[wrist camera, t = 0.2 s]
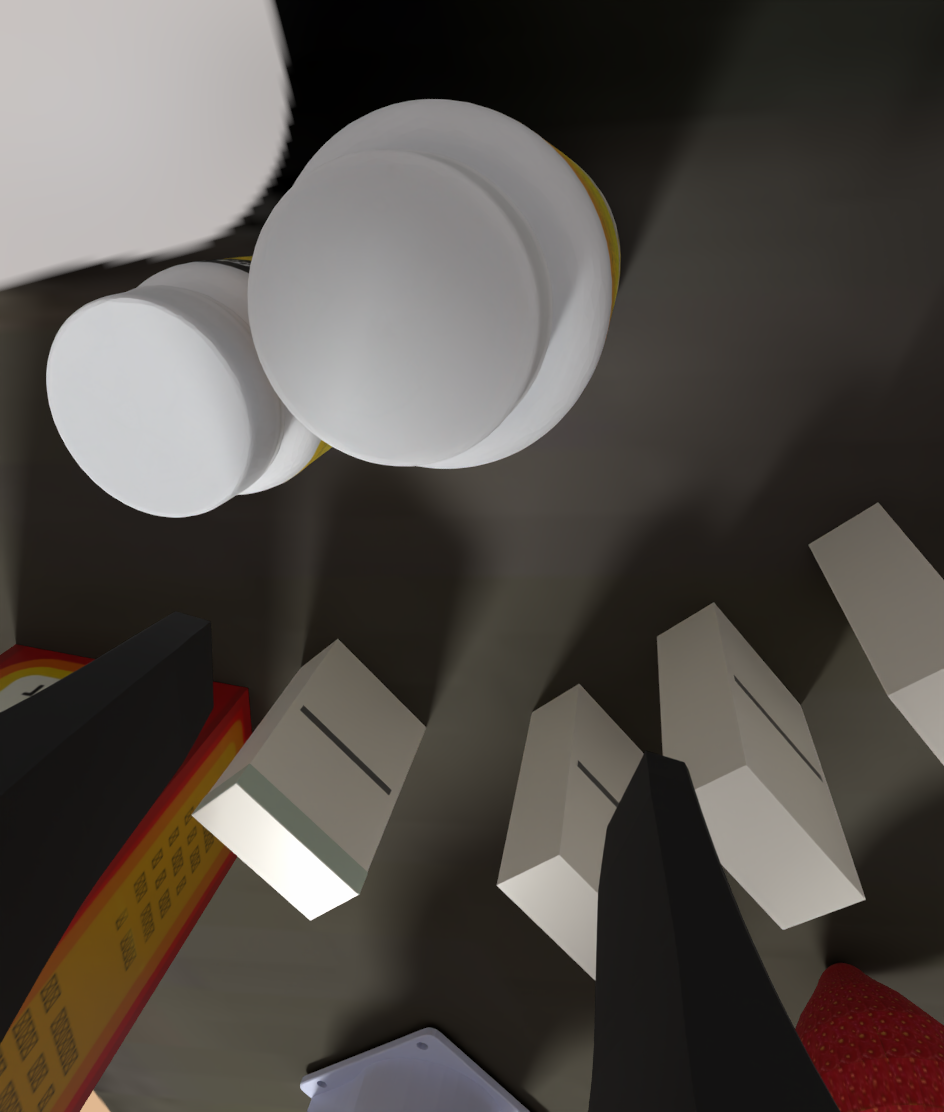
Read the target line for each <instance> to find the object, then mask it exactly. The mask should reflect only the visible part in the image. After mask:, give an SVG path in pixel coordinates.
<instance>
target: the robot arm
mask: <svg viewBox="0 0 944 1112" xmlns="http://www.w3.org/2000/svg"><path fill="white" fill-rule="evenodd" d="M213 708H214V700H213V670H212V640H211V622H210V621H207V620H204V619H200V618H197V617H194V616H190V615H187V614H183V613H180V612H177V611H176V612H174V613H172V614H170V615H168V616H167V617H165V618H163V619H162V620H160V621H158V622H156V623H155V624H153V625H151V626H150V627H148V628H146V629H145V630H143V631H141V632H140V633H138V634H137V635H135V636H133V637H132V638H130V639H128V640H127V641H125V642H123V643H122V644H120V645H118V646H117V647H115V648H113V649H112V650H110V651H108V652H107V653H105V654H103V655H102V656H100V657H98V658H97V659H95V660H93V661H92V662H90V663H88V664H87V665H85V666H83V667H81V668H80V669H78V670H76V671H74V672H73V673H71V674H69V675H68V676H66V677H64V678H62V679H61V680H59V681H57V682H55V683H54V684H52V685H50V686H49V687H47V688H45V689H43V690H41V691H40V692H38V693H36V694H34V695H32V696H30V697H29V698H27V699H25V700H23V701H21V702H19V703H17V704H15V705H13V706H12V707H10V708H8V709H6V710H4V711H2V712H0V1044H1V1042H2V1041H3V1039H4V1037H5V1035H6V1033H7V1031H8V1030H9V1028H10V1026H11V1024H12V1023H13V1021H14V1019H15V1017H16V1016H17V1014H18V1012H19V1010H20V1009H21V1007H22V1005H23V1003H24V1002H25V1000H26V998H27V996H28V995H29V993H30V991H31V989H32V987H33V986H34V984H35V982H36V980H37V979H38V977H39V975H40V973H41V972H42V970H43V968H44V967H45V965H46V963H47V962H48V960H49V958H50V956H51V955H52V953H53V951H54V950H55V948H56V946H57V945H58V943H59V941H60V940H61V938H62V936H63V935H64V933H65V931H66V930H67V928H68V926H69V925H70V923H71V921H72V920H73V918H74V916H75V915H76V913H77V911H78V910H79V908H80V906H81V905H82V904H83V902H84V901H85V899H86V898H87V896H88V895H89V893H90V892H91V890H92V889H93V887H94V886H95V884H96V883H97V881H98V880H99V878H100V877H101V876H102V874H103V873H104V872H105V870H106V869H107V867H108V866H109V865H110V863H111V862H112V861H113V859H114V858H115V856H116V855H117V854H118V852H119V851H120V850H121V848H122V847H123V845H124V844H125V843H126V841H127V840H128V839H129V837H130V836H131V834H132V833H133V832H134V830H135V829H136V828H137V826H138V825H139V823H140V822H141V821H142V819H143V818H144V817H145V815H146V814H147V812H148V811H149V810H150V808H151V807H152V806H153V804H154V803H155V801H156V800H157V799H158V797H159V796H160V794H161V793H162V792H163V790H164V789H165V787H166V786H167V785H168V783H169V782H170V780H171V779H172V778H173V776H174V775H175V773H176V772H177V771H178V769H179V768H180V766H181V765H182V764H183V762H184V760H185V759H186V757H187V755H188V753H189V752H190V750H191V748H192V746H193V745H194V743H195V741H196V739H197V738H198V736H199V734H200V732H201V730H202V728H203V726H204V725H205V723H206V721H207V719H208V717H209V715H210V713H211V712H212V710H213ZM300 1087H301V1090H302V1091H303V1092H305V1093H306V1094H307V1095H308V1096H309V1097H311V1098H312V1099H311V1102H310V1104H309V1107H308V1110H307V1112H530V1111H529V1110H528V1109H527V1108H525V1107H524V1106H523V1105H522V1104H521V1103H520V1102H519V1101H518V1100H516V1099H515V1098H514V1097H513V1096H512V1095H511V1094H510V1093H509V1092H507V1091H506V1090H505V1089H504V1088H503V1087H502V1086H501V1085H500V1084H498V1083H497V1082H496V1081H495V1080H494V1079H493V1078H492V1077H490V1076H489V1075H488V1074H487V1073H486V1072H485V1071H484V1070H483V1069H481V1068H480V1067H479V1066H478V1065H477V1064H476V1063H475V1062H474V1061H472V1060H471V1059H470V1058H469V1057H468V1056H467V1055H466V1054H465V1053H463V1052H462V1051H461V1050H460V1049H459V1048H458V1047H457V1046H455V1045H454V1044H453V1043H452V1042H451V1041H450V1040H449V1039H448V1038H446V1037H445V1036H444V1035H443V1034H442V1033H441V1032H440V1031H438V1030H437V1029H434V1028H430V1027H428V1028H424V1029H422V1030H419V1031H417V1032H414V1033H412V1034H409V1035H406V1036H404V1037H401V1038H399V1039H396V1040H394V1041H391V1042H389V1043H386V1044H384V1045H381V1046H379V1047H376V1048H374V1049H371V1050H369V1051H366V1052H364V1053H361V1054H359V1055H356V1056H353V1057H351V1058H348V1059H346V1060H343V1061H341V1062H338V1063H336V1064H333V1065H331V1066H328V1067H326V1068H323V1069H321V1070H318V1071H316V1072H313V1073H311V1074H308V1075H306V1076H304V1077H303V1078H302V1081H301V1083H300ZM588 1112H841V1111H840V1110H839V1108H838V1106H837V1104H836V1103H835V1101H834V1099H833V1097H832V1096H831V1094H830V1092H829V1090H828V1088H827V1087H826V1085H825V1083H824V1081H823V1080H822V1078H821V1076H820V1074H819V1073H818V1071H817V1069H816V1067H815V1065H814V1064H813V1062H812V1060H811V1058H810V1056H809V1054H808V1053H807V1051H806V1049H805V1047H804V1045H803V1043H802V1041H801V1039H800V1037H799V1036H798V1034H797V1032H796V1030H795V1028H794V1026H793V1024H792V1022H791V1020H790V1018H789V1016H788V1015H787V1013H786V1011H785V1009H784V1007H783V1005H782V1003H781V1001H780V999H779V996H778V994H777V992H776V990H775V988H774V986H773V984H772V982H771V980H770V978H769V976H768V974H767V971H766V969H765V967H764V965H763V963H762V960H761V958H760V956H759V954H758V952H757V950H756V947H755V945H754V943H753V941H752V939H751V936H750V934H749V932H748V929H747V927H746V925H745V922H744V920H743V918H742V915H741V913H740V910H739V908H738V905H737V903H736V901H735V898H734V896H733V893H732V891H731V888H730V886H729V883H728V881H727V878H726V876H725V873H724V871H723V868H722V866H721V863H720V860H719V858H718V855H717V852H716V850H715V847H714V844H713V841H712V838H711V836H710V833H709V830H708V827H707V825H706V822H705V819H704V816H703V813H702V810H701V807H700V804H699V801H698V798H697V795H696V792H695V789H694V786H693V782H692V779H691V776H690V773H689V770H688V768H687V766H686V764H685V762H682V761H679V760H676V759H672V758H669V757H666V756H662V755H659V754H655V753H652V752H649V751H645V753H644V755H643V757H642V759H641V761H640V763H639V765H638V767H637V769H636V771H635V773H634V775H633V777H632V779H631V781H630V783H629V784H628V786H627V788H626V790H625V792H624V794H623V796H622V798H621V800H620V802H619V804H618V806H617V808H616V810H615V812H614V814H613V816H612V818H611V820H610V822H609V824H608V826H607V830H606V837H605V844H604V851H603V858H602V865H601V872H600V880H599V888H598V908H597V944H596V986H595V1029H594V1054H593V1071H592V1083H591V1092H590V1101H589V1110H588Z"/></svg>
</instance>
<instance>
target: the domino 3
mask: <svg viewBox="0 0 944 1112" xmlns="http://www.w3.org/2000/svg"><path fill="white" fill-rule="evenodd" d="M809 547H810V549H811V551H812V553H813V555H814V557H815V559H816V561H817V563H818V564H819V566H820V568H821V570H822V572H823V574H824V576H825V578H826V580H827V582H828V583H829V585H830V587H831V589H832V591H833V593H834V595H835V597H836V599H837V601H838V602H839V604H840V606H841V608H842V610H843V612H844V614H845V616H846V618H847V620H848V621H849V623H850V625H851V627H852V629H853V631H854V633H855V635H856V637H857V639H858V640H859V642H860V644H861V646H862V648H863V650H864V652H865V654H866V656H867V658H868V659H869V661H870V663H871V665H872V667H873V669H874V671H875V673H876V675H877V677H878V679H879V680H880V682H881V684H882V686H883V688H884V690H885V692H886V694H887V696H888V697H889V698H890V699H891V701H892V702H893V703H894V704H895V706H896V707H897V708H898V709H899V711H900V712H901V713H902V714H903V715H904V717H905V718H906V719H907V720H908V722H909V723H910V724H911V725H912V727H913V728H914V729H915V730H916V732H917V733H918V734H919V735H920V737H921V738H922V739H923V740H924V742H925V743H926V744H927V745H928V746H929V748H930V749H931V750H932V751H933V753H934V754H935V755H936V756H937V758H938V759H939V760H940V761H941V763H942V764H943V765H944V580H943V578H942V577H941V576H940V575H939V574H938V573H937V571H936V570H935V569H934V568H933V567H932V565H931V564H930V563H929V562H928V561H927V560H926V558H925V557H924V556H923V555H922V554H921V552H920V551H919V550H918V549H917V548H916V547H915V545H914V544H913V543H912V542H911V541H910V539H909V538H908V537H907V536H906V535H905V534H904V532H903V531H902V530H901V529H900V528H899V526H898V525H897V524H896V523H895V522H894V520H893V519H892V518H891V517H890V516H889V515H888V513H887V512H886V511H885V510H884V509H883V507H882V506H881V505H880V504H879V503H876V504H875V505H873V506H871V507H870V508H868V509H866V510H865V511H863V512H861V513H860V514H858V515H856V516H855V517H853V518H851V519H850V520H848V521H846V522H845V523H843V524H842V525H840V526H838V527H837V528H835V529H833V530H832V531H830V532H828V533H827V534H825V535H823V536H822V537H820V538H818V539H817V540H815V541H814V542H812V543H810V544H809Z"/></svg>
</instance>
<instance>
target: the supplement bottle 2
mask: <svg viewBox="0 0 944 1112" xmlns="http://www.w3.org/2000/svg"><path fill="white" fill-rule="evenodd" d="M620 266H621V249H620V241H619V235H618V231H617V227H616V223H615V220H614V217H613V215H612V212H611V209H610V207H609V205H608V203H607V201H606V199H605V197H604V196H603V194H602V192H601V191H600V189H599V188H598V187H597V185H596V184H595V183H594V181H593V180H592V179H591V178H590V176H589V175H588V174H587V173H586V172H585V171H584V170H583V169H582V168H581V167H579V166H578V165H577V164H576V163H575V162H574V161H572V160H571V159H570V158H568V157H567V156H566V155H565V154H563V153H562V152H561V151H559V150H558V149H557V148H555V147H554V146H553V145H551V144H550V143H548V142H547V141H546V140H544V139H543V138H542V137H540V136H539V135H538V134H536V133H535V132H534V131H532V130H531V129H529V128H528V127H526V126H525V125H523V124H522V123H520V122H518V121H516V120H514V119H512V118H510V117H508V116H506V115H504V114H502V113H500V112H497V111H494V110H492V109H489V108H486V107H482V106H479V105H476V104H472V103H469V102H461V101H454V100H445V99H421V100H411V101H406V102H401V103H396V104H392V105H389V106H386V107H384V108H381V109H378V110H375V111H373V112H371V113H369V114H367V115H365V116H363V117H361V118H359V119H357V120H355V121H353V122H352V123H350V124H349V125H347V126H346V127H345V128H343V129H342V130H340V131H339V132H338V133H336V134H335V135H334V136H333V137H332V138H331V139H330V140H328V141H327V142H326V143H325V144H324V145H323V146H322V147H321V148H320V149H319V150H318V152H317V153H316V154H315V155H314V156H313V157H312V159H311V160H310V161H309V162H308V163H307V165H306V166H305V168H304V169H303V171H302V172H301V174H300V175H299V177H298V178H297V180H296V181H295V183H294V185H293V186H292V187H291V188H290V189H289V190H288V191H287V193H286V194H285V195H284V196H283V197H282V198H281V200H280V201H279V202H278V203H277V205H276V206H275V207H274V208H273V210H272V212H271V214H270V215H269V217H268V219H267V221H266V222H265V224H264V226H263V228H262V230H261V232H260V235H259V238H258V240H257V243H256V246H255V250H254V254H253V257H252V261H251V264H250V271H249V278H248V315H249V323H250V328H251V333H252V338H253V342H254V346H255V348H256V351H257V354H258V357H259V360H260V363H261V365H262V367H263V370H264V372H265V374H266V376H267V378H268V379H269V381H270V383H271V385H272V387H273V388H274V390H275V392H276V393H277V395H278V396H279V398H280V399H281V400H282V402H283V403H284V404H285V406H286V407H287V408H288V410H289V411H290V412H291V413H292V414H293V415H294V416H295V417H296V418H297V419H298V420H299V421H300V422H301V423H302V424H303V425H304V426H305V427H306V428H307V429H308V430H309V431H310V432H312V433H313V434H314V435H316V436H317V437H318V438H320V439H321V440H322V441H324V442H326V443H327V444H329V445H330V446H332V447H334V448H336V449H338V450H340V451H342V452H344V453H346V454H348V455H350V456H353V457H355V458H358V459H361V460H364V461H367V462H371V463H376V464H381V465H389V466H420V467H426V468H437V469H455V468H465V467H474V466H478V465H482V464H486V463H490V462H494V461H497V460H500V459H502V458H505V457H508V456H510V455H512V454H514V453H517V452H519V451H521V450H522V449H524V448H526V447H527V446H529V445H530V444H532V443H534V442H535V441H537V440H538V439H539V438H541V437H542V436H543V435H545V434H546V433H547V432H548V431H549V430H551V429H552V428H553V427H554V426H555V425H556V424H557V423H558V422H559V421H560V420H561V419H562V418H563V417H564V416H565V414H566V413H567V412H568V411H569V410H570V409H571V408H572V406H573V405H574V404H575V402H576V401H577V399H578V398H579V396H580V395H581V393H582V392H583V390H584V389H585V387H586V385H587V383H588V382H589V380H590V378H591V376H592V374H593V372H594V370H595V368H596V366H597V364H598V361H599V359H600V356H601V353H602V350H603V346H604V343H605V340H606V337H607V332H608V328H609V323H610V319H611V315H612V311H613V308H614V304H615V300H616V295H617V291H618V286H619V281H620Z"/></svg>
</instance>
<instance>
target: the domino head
mask: <svg viewBox="0 0 944 1112" xmlns="http://www.w3.org/2000/svg"><path fill="white" fill-rule="evenodd" d="M425 729H426V727H425V726H424V725H423V724H422V723H421V722H420V721H419V720H418V719H417V718H416V717H415V716H414V715H413V714H412V713H411V712H410V711H409V710H408V709H407V708H406V707H405V706H404V705H403V704H402V703H401V702H400V701H399V700H398V699H397V698H396V697H395V696H394V695H393V694H392V693H391V692H390V690H389V689H388V688H387V687H386V686H385V685H384V684H383V683H382V682H381V681H380V680H379V679H378V678H377V677H376V676H375V675H374V674H373V673H372V672H371V671H370V670H369V669H368V668H367V667H366V666H365V665H364V664H363V663H362V662H361V661H360V660H359V659H358V658H357V657H356V656H355V655H354V654H353V653H352V652H351V651H350V650H349V649H348V648H347V647H346V646H345V645H344V644H343V643H342V642H341V641H340V640H339V639H337V640H335V641H334V642H333V643H332V644H330V645H329V646H328V647H326V648H325V649H324V650H323V651H321V652H320V653H319V654H318V655H316V656H315V657H314V658H312V659H311V660H310V661H309V662H307V663H306V664H305V665H303V666H302V667H301V668H300V669H299V671H298V672H297V673H296V675H295V676H294V677H293V679H292V680H291V682H290V683H289V684H288V686H287V687H286V688H285V690H284V691H283V692H282V694H281V695H280V696H279V698H278V699H277V701H276V702H275V703H274V705H273V706H272V707H271V709H270V710H269V711H268V713H267V714H266V715H265V717H264V718H263V720H262V721H261V722H260V724H259V725H258V726H257V728H256V729H255V730H254V732H253V733H252V734H251V736H250V737H249V739H248V740H247V741H246V743H245V744H244V745H243V747H242V748H241V749H240V751H239V752H238V753H237V755H236V756H235V758H234V759H233V760H232V762H231V763H230V764H229V766H228V767H227V768H226V770H225V771H224V772H223V774H222V775H221V777H220V778H219V779H218V781H217V782H216V783H215V785H214V786H213V787H212V789H211V790H210V791H209V793H208V794H207V795H206V796H205V797H204V798H203V799H202V801H201V802H200V804H199V805H198V806H197V808H196V809H195V810H194V812H193V813H192V814H191V815H192V816H193V817H194V818H195V819H196V820H197V821H198V822H200V823H201V824H202V825H203V826H204V827H205V828H206V829H207V830H209V831H210V832H211V833H212V834H213V835H214V836H215V837H217V838H218V839H219V840H220V841H221V842H222V843H223V844H224V845H226V846H227V847H228V848H229V849H230V850H231V851H232V852H233V853H235V854H236V855H237V856H238V857H239V858H240V859H241V860H242V861H244V862H245V863H246V864H247V865H248V866H249V867H250V868H251V869H253V870H254V871H255V872H256V873H257V874H258V875H259V876H261V877H262V878H263V879H264V880H265V881H266V882H267V883H268V884H270V885H271V886H272V887H273V888H274V889H275V890H276V891H277V892H279V893H280V894H281V895H282V896H283V897H284V898H285V899H286V900H288V901H289V902H290V903H291V904H292V905H293V906H294V907H295V908H297V909H298V910H299V911H300V912H301V913H302V914H303V915H305V916H306V917H307V918H308V919H309V920H312V919H314V918H316V917H318V916H320V915H322V914H323V913H325V912H327V911H329V910H331V909H333V908H335V907H336V906H338V905H340V904H342V903H344V902H346V901H348V900H350V899H351V898H353V897H355V896H357V895H359V894H360V892H361V889H362V887H363V884H364V882H365V879H366V877H367V874H368V869H369V867H370V864H371V862H372V859H373V857H374V854H375V852H376V849H377V847H378V845H379V842H380V840H381V837H382V835H383V832H384V830H385V827H386V825H387V822H388V820H389V818H390V815H391V813H392V810H393V808H394V805H395V803H396V800H397V798H398V795H399V793H400V790H401V788H402V786H403V783H404V781H405V778H406V776H407V773H408V771H409V768H410V766H411V763H412V761H413V759H414V756H415V754H416V751H417V749H418V746H419V744H420V741H421V739H422V736H423V734H424V731H425Z"/></svg>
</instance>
